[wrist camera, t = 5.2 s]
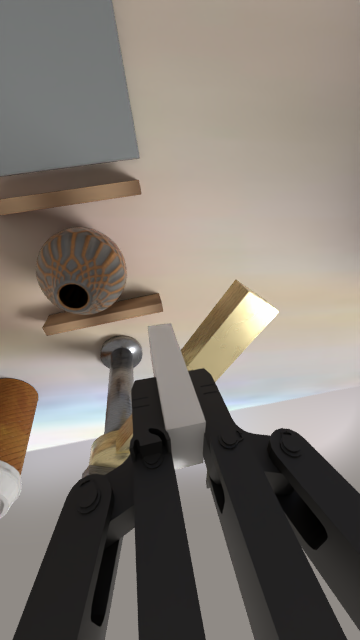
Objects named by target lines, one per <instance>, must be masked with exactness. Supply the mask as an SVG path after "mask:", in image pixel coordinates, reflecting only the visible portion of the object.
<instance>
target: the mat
mask: <svg viewBox="0 0 360 640" xmlns="http://www.w3.org/2000/svg"><path fill="white" fill-rule="evenodd" d="M137 158H140V157H139V151H138V146H137V140H136V134H135V129H134V123H133V118H132V112H131V106H130V101H129V95H128V89H127V84H126V78H125V72H124V67H123V61H122V55H121V50H120V44H119V38H118V33H117V27H116V21H115V16H114V10H113V4H112V0H0V177H1V176H9V175H16V174H24V173H31V172H39V171H47V170H54V169H62V168H69V167H77V166H84V165H92V164H100V163H107V162H115V161H122V160H130V159H137Z"/></svg>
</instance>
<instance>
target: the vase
mask: <svg viewBox="0 0 360 640" xmlns="http://www.w3.org/2000/svg"><path fill="white" fill-rule="evenodd" d="M36 274H37V280H38V283H39V286H40V288H41V290H42V292H43V293H44V295H45V296H46V297H47V298H48V299H49V300H50V301H51V302H52V303H53V304H54V305H56V306H57V307H59V308H60V309H62V310H64V311H67V312H70V313H73V314H80V315H89V314H95V313H98V312H101V311H103V310H105V309H107V308H108V307H110V306H111V305H112V304H113V303H114V302H115V301H116V300H117V299H118V298H119V296H120V295H121V293H122V291H123V289H124V287H125V283H126V276H127V271H126V264H125V260H124V257H123V255H122V253H121V251H120V249H119V248H118V247H117V245H116V244H115V243H114V242H113V241H112V240H111V239H110V238H108V237H107V236H106V235H104V234H102V233H100V232H98V231H96V230H93V229H89V228H82V227H76V228H69V229H66V230H63V231H60V232H58V233H57V234H55V235H53V236H52V237H51V238H50V239H49V240H48V241H47V242H46V243H45V244H44V245H43V247H42V248H41V250H40V252H39V255H38V258H37V263H36Z"/></svg>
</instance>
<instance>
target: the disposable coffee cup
mask: <svg viewBox="0 0 360 640" xmlns="http://www.w3.org/2000/svg"><path fill="white" fill-rule="evenodd" d="M37 402H38V393H37V392H36V390H35V389H34V388H33V387H32V386H31V385H29V384H28V383H25V382H23V381H20V380H16V379H9V378H4V379H0V519H1V518H2V517H3V516H4V515H5V514H6V513H7V512H8V510H9V508H10V507H11V505H12V503H13V502H14V501H15V500H16V499H17V498H18V497H19V495H20V493H21V489H22V485H21V476H20V475H21V471H22V466H23V463H24V458H25V454H26V449H27V445H28V441H29V436H30V431H31V427H32V423H33V419H34V415H35V410H36V406H37Z"/></svg>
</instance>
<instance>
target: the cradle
mask: <svg viewBox="0 0 360 640" xmlns="http://www.w3.org/2000/svg"><path fill="white" fill-rule="evenodd" d="M140 194H141V189H140V184H139V180H133V181H126V182H119V183H112V184H105V185H98V186H91V187H84V188H77V189H70V190H63V191H56V192H49V193H42V194H35V195H28V196H21V197H14V198H7V199H0V215H6V214H13V213H20V212H27V211H33V210H40V209H47V208H53V207H60V206H67V205H73V204H80V203H87V202H93V201H100V200H107V199H113V198H120V197H127V196H133V195H140ZM158 312H163V307H162V302H161V299H160V296H159V293H158V294H153V295H148V296H143V297H138V298H133V299H128V300H123V301H118V302H114V303H113V304H112V305H111V306H110V307H108V308H107V309H105V310H103V311H101V312H98V313H95V314H89V315H80V314H73V313H70V312H63V313H58V314H53V315H49V317H48V319H47V320H46V322H45V324H44V326H43V327H42V328H43V330H44V332H45V333H46V335H47V336H48V335H53V334H58V333H62V332H67V331H72V330H77V329H81V328H86V327H91V326H96V325H101V324H105V323H110V322H115V321H120V320H124V319H129V318H134V317H139V316H144V315H148V314H153V313H158Z"/></svg>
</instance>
